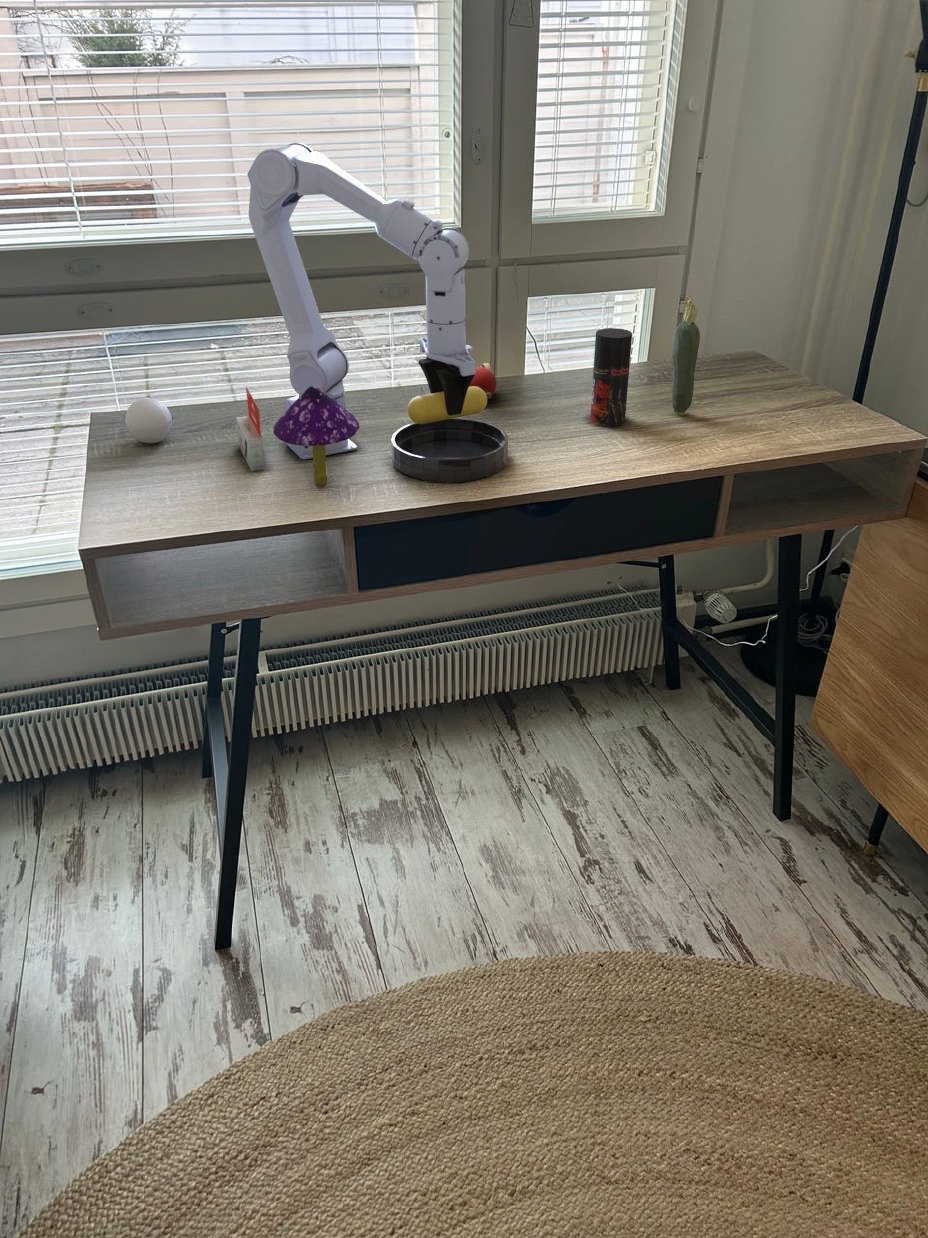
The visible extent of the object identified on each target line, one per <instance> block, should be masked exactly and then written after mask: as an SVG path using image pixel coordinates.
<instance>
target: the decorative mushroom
mask: <svg viewBox="0 0 928 1238" xmlns="http://www.w3.org/2000/svg"><path fill="white" fill-rule="evenodd" d="M360 428H361V426H360V422H359V421H358V420H357V418H356V417H355V415H354V414H352V413H351V412H349V411H348V410H347V409H344V408H343V407H342V406H341V405H340V404H339V403H338V402H337V401H336V400H334V399H333V398H331V397H329V396H328V395H326V394H325V393H324V392H323V391H322V390H321V389H319V388H318V387H316V386H310V387H309V388H307V390H306V391H305V392H304V393H303V394H302V395H301V396H300V397H299V398H298V399H297V400H296V401H295V402H294V403H293V404H292V405H291V406H290V407H289V408H288V410H287V411H286V412H285V413H283V414H282V415H281V417H280V418H279V419H277V421H276V422H275V424H274V426H273V428H272V433H273V435H274V436H275V437H276V438H277V439H278V440H280V441H282V442H284V443H286V444H287V443H289V444H294V445H302V446H313V458H312V465H313V479H314V482H315V484H316V485H318V486H324V485H326V484H327V483H328V481H329V478H328V472H327V455H326V451H325V450H326V445H328V444H334V443H338V442H341V441H344V440H347V439H349V440H350V439H351V438H352V437H354V436H355V435H356V433H358V431H359V430H360Z"/></svg>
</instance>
